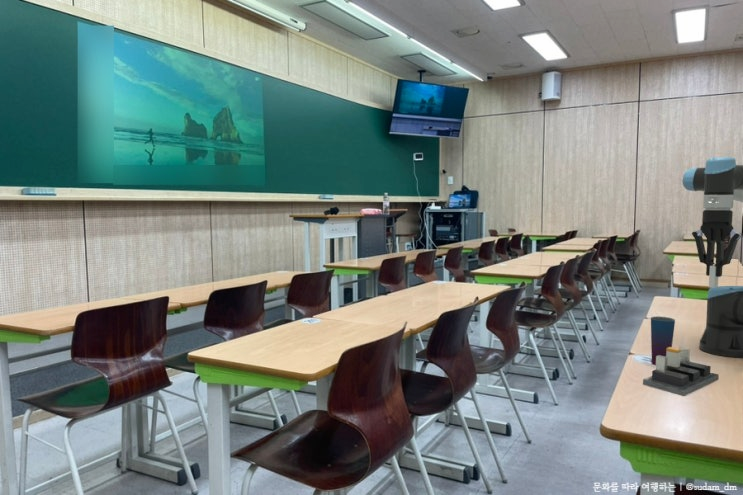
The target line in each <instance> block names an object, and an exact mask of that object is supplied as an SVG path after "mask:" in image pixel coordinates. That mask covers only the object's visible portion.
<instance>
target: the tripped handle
mask: <svg viewBox="0 0 743 495" xmlns="http://www.w3.org/2000/svg"><path fill="white" fill-rule="evenodd" d="M680 352H681V349H679V348H677V347H673V346H672V347H668V348H666V357H668V359H667V365H668V366H672V367H676V368H677V367H679V366H680Z"/></svg>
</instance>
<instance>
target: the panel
mask: <svg viewBox="0 0 743 495" xmlns="http://www.w3.org/2000/svg"><path fill="white" fill-rule="evenodd" d="M678 349H681V352H680V366H679V367H677V368H676V367H672V366H668V365H667V359H668V357H665V356H660V355H658V356H656V365H655V369H654V370H652V372H651V376H648V377H646V378H644V379H643V380H642V385H643V386H648V387H651V388H653V389H654V388H655V389H658V390H661V391H665V392H669V393H672V394H675V395H680V396H683V397H684V396H687V395H689V394H692V393H693V392H695V391H697V390H699V389H702V388H704V387H706V386H708V385H710V384H712V383H714V382H716V381H719V375H720V374H718V373H713V372H711V366H710V365H706V364H703V363H699V362H693V361H690V356H691V348H687V347H682V346H681V347H679V348H678Z"/></svg>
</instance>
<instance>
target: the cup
mask: <svg viewBox="0 0 743 495" xmlns="http://www.w3.org/2000/svg"><path fill="white" fill-rule="evenodd" d="M675 324H676V319H675V318H672V317H666V316H659V315H658V316H655V315H654V316H650V341H651V342H650V344H651V345H650V346H651V348H650V349H651V364H652V365H653V366H656V356H658V355H660V356H665V357H666V348H668V347H672V348H673V342H674V332H675Z"/></svg>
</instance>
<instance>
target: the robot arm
mask: <svg viewBox="0 0 743 495" xmlns="http://www.w3.org/2000/svg"><path fill="white" fill-rule="evenodd" d="M681 182H682V185H683V186H682V187H684V189H685V190H687V191H689V192H690V191H692V192H703V203H702V204H703V206H702V208H703V209H705V210H703V211H702V219H701V220H702V224H701V226H700V229H697V230H696V231H692V233H691V236H692V237H693V238H694V240H695V245H696V249H697V254H698V258H699V259H698V260H699V262H700V263H701V264H705V265H706V268H705V269H706V271H705V274H706V276H708V278H709V279H708V288H709V289H708V290H707V291H708V293H707V297H706V301H707V302H706V323H705V324H706V325H705V328H704V331H703V333H702V335H701V338H700V339H699V343H698V348H699V350H701V351H703V352H705V353H708V354H711V355H716V356H722V357H728V358H729V357H730V358H743V285H719V278H721V277H722V276H723V267H724V266H726V265H730V264H731V262H732V258H733V256H734V254H735V250H736V247H737V245H738V241H740V240H741V238H742V237H743V233H739V232H737V230H734V226H733V216H734V215H733V213H734V212H733V210H731V209H733V208H734V201H736V202H740V203H743V164H737V163H736V158H735V157H732V156H730V157H729V156H725V157H724V156H722V157H721V156H720V157H711V158H708V159H706V161H705V167H694V168H689V169H688V170H686V171H685V172H684V174H683V176H682V181H681ZM703 236H704V237H705V238H706V247H705V242H704V238H703ZM728 237H730V240H729V242H728V245H727V248H726V251H725V245H726V244H725V243H726V239H727V238H728ZM715 246H716V247H715Z"/></svg>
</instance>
